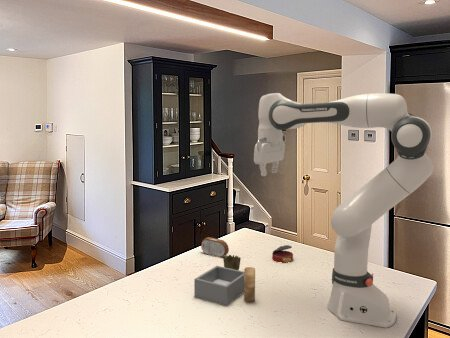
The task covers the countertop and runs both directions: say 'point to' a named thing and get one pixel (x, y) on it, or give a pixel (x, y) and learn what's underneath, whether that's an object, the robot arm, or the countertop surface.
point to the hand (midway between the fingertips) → (269, 174)
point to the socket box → (219, 285)
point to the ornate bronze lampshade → (232, 262)
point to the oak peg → (249, 285)
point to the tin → (214, 247)
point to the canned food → (282, 254)
